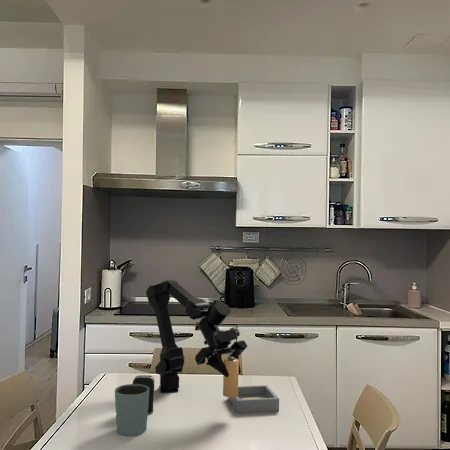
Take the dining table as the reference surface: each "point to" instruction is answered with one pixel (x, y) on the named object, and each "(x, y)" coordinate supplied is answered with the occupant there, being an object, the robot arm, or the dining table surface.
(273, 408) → the gray square tray
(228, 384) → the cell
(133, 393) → the green cup
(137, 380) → the battery charger
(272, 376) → the dining table surface
